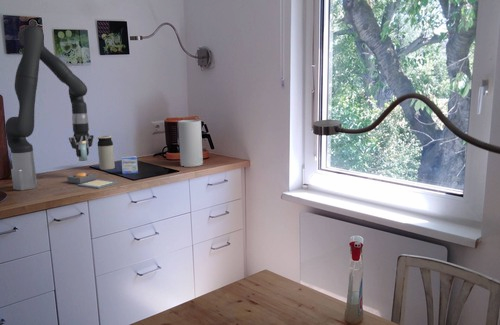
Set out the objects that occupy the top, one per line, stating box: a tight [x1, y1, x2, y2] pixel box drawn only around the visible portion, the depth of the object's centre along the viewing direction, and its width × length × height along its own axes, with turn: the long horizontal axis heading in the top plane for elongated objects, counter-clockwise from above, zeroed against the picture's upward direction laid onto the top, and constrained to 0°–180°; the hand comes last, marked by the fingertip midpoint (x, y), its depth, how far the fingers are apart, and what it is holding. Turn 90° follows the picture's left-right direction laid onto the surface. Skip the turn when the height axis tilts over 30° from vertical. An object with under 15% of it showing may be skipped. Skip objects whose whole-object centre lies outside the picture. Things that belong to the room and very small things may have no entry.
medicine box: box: [120, 155, 139, 175], centre depth 242 cm, size 8×4×9 cm, turn 105°
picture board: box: [77, 178, 119, 190], centre depth 218 cm, size 12×14×1 cm
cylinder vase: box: [177, 119, 204, 168], centre depth 257 cm, size 12×12×25 cm
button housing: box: [66, 173, 96, 185], centre depth 225 cm, size 9×9×3 cm
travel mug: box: [97, 135, 116, 171], centre depth 253 cm, size 8×8×18 cm
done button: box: [74, 172, 87, 177], centre depth 225 cm, size 5×5×2 cm
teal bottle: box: [77, 141, 88, 162], centre depth 234 cm, size 4×4×10 cm
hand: (82, 155), depth 234 cm, fingers closed on teal bottle, 4 cm apart
